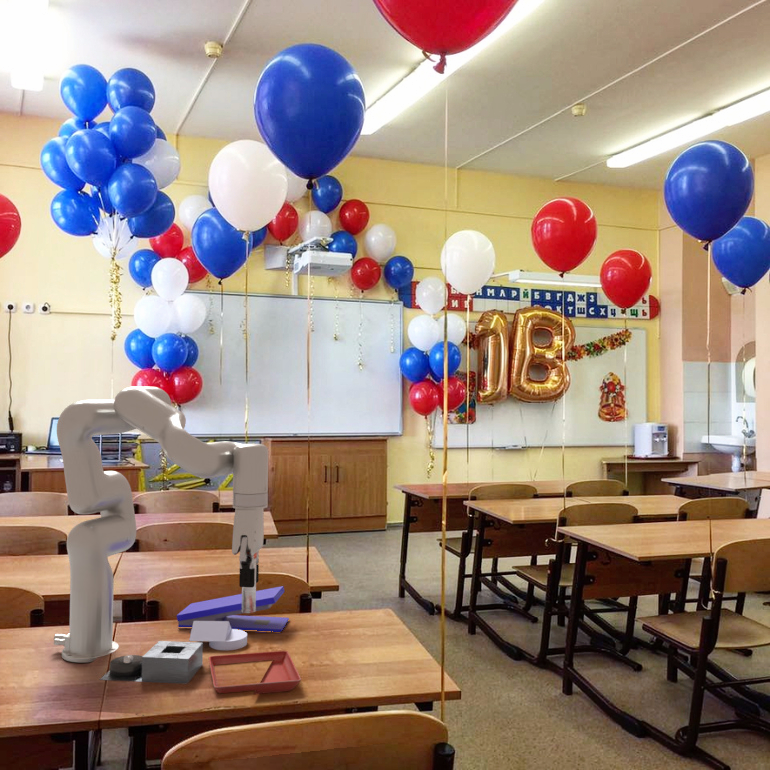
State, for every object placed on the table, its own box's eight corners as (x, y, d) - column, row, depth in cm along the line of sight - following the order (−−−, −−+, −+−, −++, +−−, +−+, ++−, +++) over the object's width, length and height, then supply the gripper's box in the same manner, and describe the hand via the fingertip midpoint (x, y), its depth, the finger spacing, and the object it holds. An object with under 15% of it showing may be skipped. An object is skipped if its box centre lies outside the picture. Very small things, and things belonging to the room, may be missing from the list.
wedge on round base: (188, 655, 175) (243, 655, 175) (189, 626, 175) (244, 627, 175) (197, 642, 184) (249, 642, 184) (197, 615, 184) (250, 615, 184)
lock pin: (239, 613, 160) (240, 551, 160) (243, 608, 163) (244, 548, 163) (254, 613, 159) (255, 552, 159) (257, 609, 163) (258, 549, 163)
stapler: (280, 635, 191) (281, 597, 191) (175, 630, 193) (175, 592, 193) (289, 621, 203) (290, 585, 203) (189, 616, 205) (190, 581, 205)
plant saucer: (287, 663, 172) (287, 649, 172) (301, 694, 155) (302, 678, 155) (207, 670, 167) (208, 655, 167) (213, 703, 149) (213, 687, 149)
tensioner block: (99, 685, 156) (99, 655, 156) (120, 665, 167) (121, 638, 167) (187, 689, 155) (187, 659, 155) (202, 669, 166) (203, 641, 166)
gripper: (242, 494, 170) (241, 574, 169) (223, 505, 153) (221, 594, 153) (274, 495, 169) (273, 575, 169) (258, 506, 153) (257, 595, 153)
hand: (249, 583), depth 161 cm, fingers closed on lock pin, 3 cm apart
